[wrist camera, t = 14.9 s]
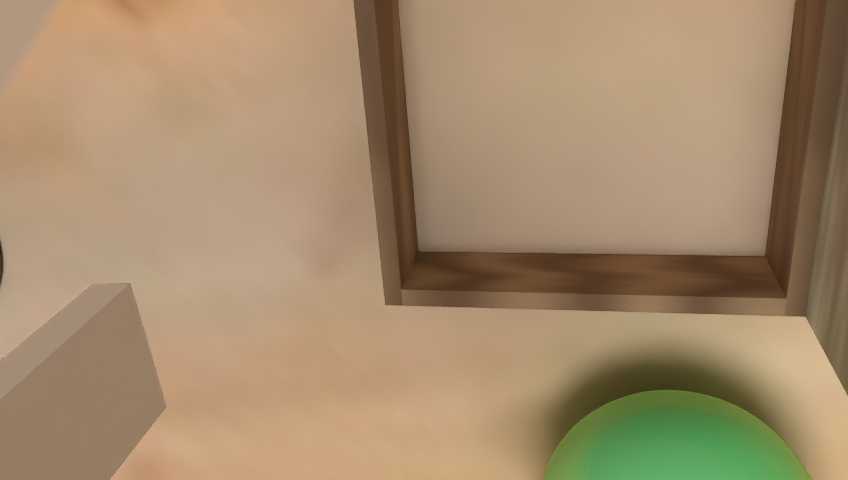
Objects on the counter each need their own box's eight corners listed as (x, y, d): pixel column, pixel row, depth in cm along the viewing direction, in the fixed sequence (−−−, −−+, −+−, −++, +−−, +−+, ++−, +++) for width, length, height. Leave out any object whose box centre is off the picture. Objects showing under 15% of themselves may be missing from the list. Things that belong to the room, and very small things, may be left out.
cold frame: (403, 266, 47) (296, 491, 29) (368, -124, 39) (184, -140, 21) (801, 273, 43) (959, 544, 25) (863, -167, 34) (1177, -236, 16)
